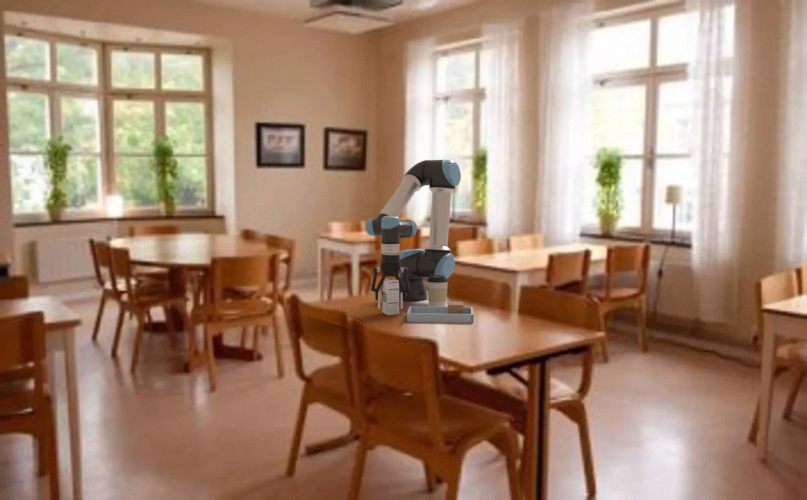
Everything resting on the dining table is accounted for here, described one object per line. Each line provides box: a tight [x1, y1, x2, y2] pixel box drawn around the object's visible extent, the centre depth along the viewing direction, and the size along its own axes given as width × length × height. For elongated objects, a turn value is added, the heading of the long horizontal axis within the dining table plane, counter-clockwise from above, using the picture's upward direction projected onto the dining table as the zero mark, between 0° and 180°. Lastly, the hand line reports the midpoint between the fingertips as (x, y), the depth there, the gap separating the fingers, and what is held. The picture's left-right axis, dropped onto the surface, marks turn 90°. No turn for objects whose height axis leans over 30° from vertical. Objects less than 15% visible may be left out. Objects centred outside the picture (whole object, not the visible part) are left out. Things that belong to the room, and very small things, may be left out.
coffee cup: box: [426, 275, 449, 307], centre depth 289 cm, size 9×9×15 cm
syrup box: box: [381, 277, 400, 316], centre depth 281 cm, size 6×6×14 cm
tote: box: [406, 305, 474, 324], centre depth 268 cm, size 16×26×4 cm, turn 85°
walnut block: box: [447, 301, 464, 314], centre depth 268 cm, size 6×6×6 cm
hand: (390, 308), depth 281 cm, fingers open, 9 cm apart
